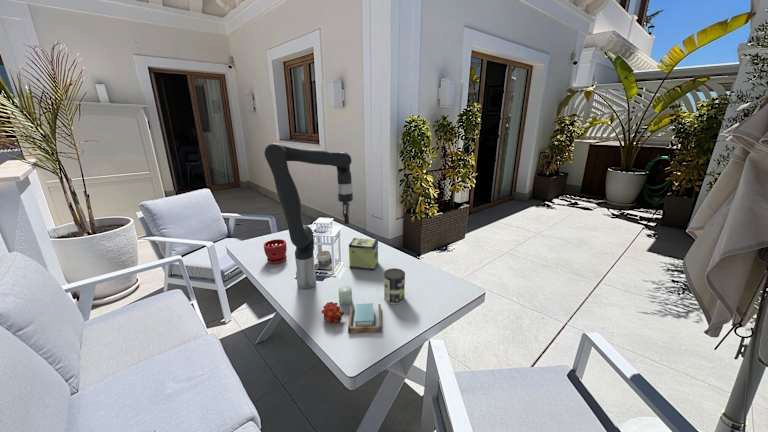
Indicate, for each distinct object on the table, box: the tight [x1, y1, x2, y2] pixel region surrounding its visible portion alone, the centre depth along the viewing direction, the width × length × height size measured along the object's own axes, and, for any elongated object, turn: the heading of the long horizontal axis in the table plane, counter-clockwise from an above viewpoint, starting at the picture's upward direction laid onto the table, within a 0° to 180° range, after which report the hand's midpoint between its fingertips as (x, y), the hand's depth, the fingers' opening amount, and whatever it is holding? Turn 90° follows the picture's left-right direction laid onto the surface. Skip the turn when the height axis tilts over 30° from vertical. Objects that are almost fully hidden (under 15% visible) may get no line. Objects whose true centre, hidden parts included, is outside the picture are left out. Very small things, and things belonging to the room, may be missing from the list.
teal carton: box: [354, 302, 375, 327], centre depth 133 cm, size 8×12×4 cm, turn 4°
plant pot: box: [263, 238, 288, 264], centre depth 185 cm, size 13×13×12 cm
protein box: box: [348, 237, 379, 271], centre depth 178 cm, size 10×16×16 cm
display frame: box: [347, 303, 382, 334], centre depth 133 cm, size 14×16×2 cm
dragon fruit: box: [321, 301, 345, 325], centre depth 133 cm, size 8×8×12 cm
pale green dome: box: [337, 285, 353, 307], centre depth 145 cm, size 6×6×7 cm
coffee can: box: [383, 268, 406, 305], centre depth 146 cm, size 10×10×14 cm
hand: (346, 223), depth 158 cm, fingers closed
